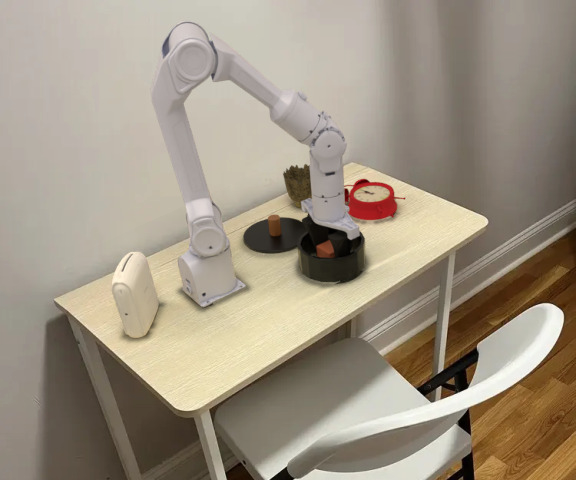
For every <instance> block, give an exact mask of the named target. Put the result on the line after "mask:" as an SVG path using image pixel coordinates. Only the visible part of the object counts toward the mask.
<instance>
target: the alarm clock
mask: <svg viewBox="0 0 576 480" xmlns="http://www.w3.org/2000/svg"><path fill="white" fill-rule="evenodd" d="M346 187H347V188H346ZM348 187H352V188H351V189H350V191H349V189H348ZM344 195H345V203H348V204H347V206H348V207H349V212H347V213H348V214H349V216H350V217H351V218H352V217H353V218H355V219H357V220H362V221H379V220H383V219H386V218H388V217H391V218H395V216H394V214H395V213H396V212H397V210H398V203H397V202H396V200H405V201H406V197H405V196H404V197H399V196H395V190H394V188H393V187H392V185H390V184H388V183H385V182H381V181H370V180H368V179H367V178H359V179H357V180H356V181H355V182H354V183H353V184H346V185H345V184H344Z"/></svg>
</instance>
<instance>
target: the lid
mask: <svg viewBox="0 0 576 480" xmlns="http://www.w3.org/2000/svg"><path fill="white" fill-rule="evenodd" d="M306 231H307V229H306V228H305V226H304V225H303V224H302V220H299V219H297V218H292V217H286V216H285V217H284V216H280V215H279V214H270V215H268V217H267V218H265V219H262V220H259V221H257V222H254V223H253V224H251V225H250V226H248V228H246V229H245V230H244V233H243V237H242V240H243V243H244V245H245V246H246V247H247V248H248V249H249V250H251V251H253V252H256V253H261V254H279V253H285V252H289V251H291V250H294V249H296V248H298V247H297V244H298V241H299V238H300V237H301V236H302V235H303V234H304V233H305V232H306Z"/></svg>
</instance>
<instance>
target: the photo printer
mask: <svg viewBox="0 0 576 480" xmlns="http://www.w3.org/2000/svg"><path fill="white" fill-rule="evenodd" d="M111 279H112V280H111V286H110V287H111V289H110V290H111V295H112V296H113V300H114V302H115V305H116V309H117V312H118V315H119V318H120V322H121V324H122V327H123V330H124V333H125V335H126V336H128V337H130V338H132V339H140V338H143V337H144V336H146V335H147V334H148V332H149V330H150V328H151V326H152V324H153V322H154V320H155V317H156V315H157V312H158V310H159V305H160V303H159V302H160V301H159V297H158V293H157V290H156V285H155V283H154V279H153V275H152V271H151V268H150V265H149V262H148V259H147V257H146V256H145V255H144V254H143V252H141V251H130V252H128V253H126V254H125V255H124V256H123V257H122V259H121V260H120V261H119V263H118V264H117V266H116V268H115V270H114V273H113V276H112V278H111Z"/></svg>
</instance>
